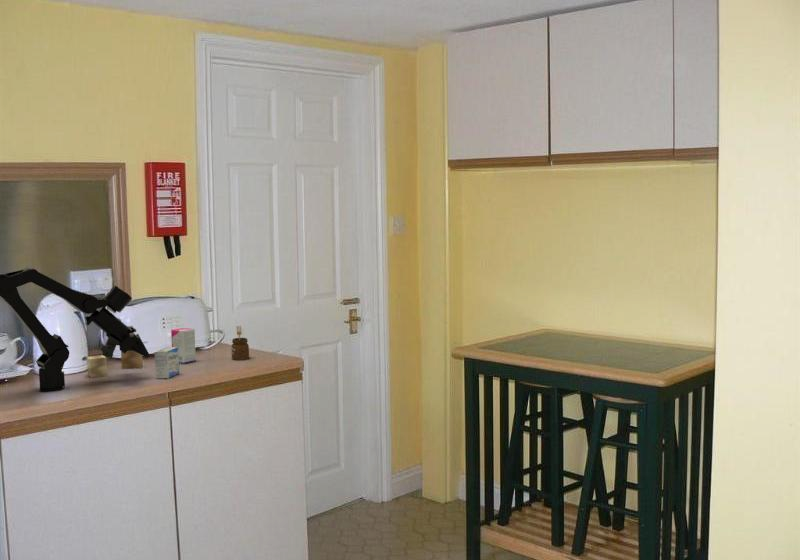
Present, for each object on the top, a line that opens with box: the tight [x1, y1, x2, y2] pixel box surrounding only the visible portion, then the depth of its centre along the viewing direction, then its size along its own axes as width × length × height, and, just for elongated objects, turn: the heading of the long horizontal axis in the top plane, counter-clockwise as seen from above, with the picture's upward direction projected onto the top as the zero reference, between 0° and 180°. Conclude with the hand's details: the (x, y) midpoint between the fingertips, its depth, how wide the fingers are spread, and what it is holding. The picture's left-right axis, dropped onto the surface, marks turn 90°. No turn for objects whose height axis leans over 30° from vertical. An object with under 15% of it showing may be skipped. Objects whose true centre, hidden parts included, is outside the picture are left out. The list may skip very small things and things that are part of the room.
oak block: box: [120, 350, 144, 370], centre depth 289 cm, size 6×4×7 cm, turn 94°
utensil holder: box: [231, 325, 250, 361], centre depth 300 cm, size 6×6×12 cm
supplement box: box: [170, 327, 197, 365], centre depth 296 cm, size 6×6×12 cm
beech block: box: [86, 354, 108, 379], centre depth 277 cm, size 5×5×6 cm
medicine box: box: [154, 346, 180, 379], centre depth 274 cm, size 8×4×9 cm, turn 168°
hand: (148, 356), depth 272 cm, fingers closed
